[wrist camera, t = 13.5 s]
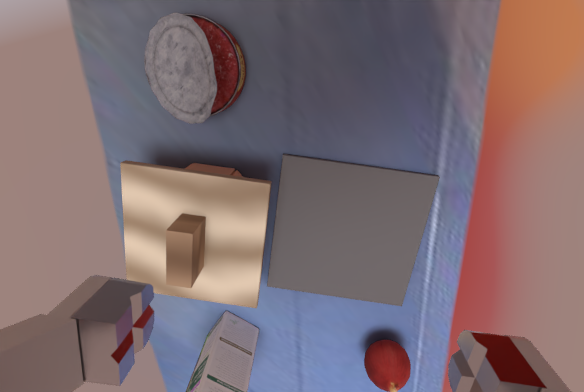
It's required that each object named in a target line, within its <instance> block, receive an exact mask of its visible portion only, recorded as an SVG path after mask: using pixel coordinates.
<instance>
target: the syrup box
mask: <svg viewBox="0 0 584 392" xmlns="http://www.w3.org/2000/svg"><path fill="white" fill-rule="evenodd" d="M258 334H259V329H258V328H257V327H255V326H254V325H252V324H250V323H248V322H247V321H245V320H243V319H241V318H239V317H238V316H236V315H234V314H232V313H230V312H228V311H225V313H224V314H223V315H222V316H221V318H220V319H219V320H218V321H217V323H216V324H215V326H214V327H213V328H212V330H211V331H210V333H209V334H208V335H207V338H206V340H205V343H204V345H203V348H202V351H201V353H200V356H199V358H198V361H197V364H196V366H195V369H194V371H193V374H192V377H191V379H190V382H189V384H188V387H187V390H186V392H247V390H248V385H249V380H250V375H251V370H252V364H253V360H254V354H255V349H256V344H257V339H258Z"/></svg>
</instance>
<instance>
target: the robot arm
mask: <svg viewBox="0 0 584 392" xmlns="http://www.w3.org/2000/svg"><path fill="white" fill-rule="evenodd" d="M153 298H154V291H153V286H152V285H151V284H148V283H142V282H136V281H130V280H124V279H119V278H111V277H105V276H99V275H94V276H90V277H89V278H88V279H87V280H85V281H84V282H83V283H82V284H81V285H80V286H79V287H78V288H77V289H75V290H74V291H73V292H72V293H71V294H70V295H69V296H68V297H66V298H65V299H64V300H63V301H62V302H61V303H60V304H59V305H58V306H57V307H55V308H54V309H53V310H52V311H51V312H50V313H49V314H48V315H44V314H40V315H37V316H34V317H32V318H29V319H27V320H24V321H22V322H19V323H16V324H14V325H11V326H8V327H6V328H3V329H1V330H0V392H73V391H74V390H75V389H77V388H78V387H80V386H81V385H83V383H84V382H91V383H100V384H108V385H116V386H120V385H121V384H122V382H123V380H124V379H125V377H126V376H127V374H128V372H129V371H130V369H131V368H132V366H133V364H134V354H135V353H137V352H139V351H140V350H142V349H143V348H144V347H145V345H146V343H147V342H148V340H149V338H150V335H151V332H152V329H153V324H154V310H153V309H152V308H151V306H150V305H149V304H150V302H151V301H152V300H153ZM457 343H458V345H459V347H460V350H459V351H458V352H456V353H455V354H453V355H452V357H451V360H450V363H449V373H448V376H449V382H450V386H451V388H452V391H453V392H571V391H570V389H569V388H568V387H567V386H566V384H565V383H564V382H563V381H562V380H561V378H560V377H559V376H558V375H557V373H556V372H555V371H554V370H553V368H552V367H551V366H550V365H549V364H548V362H547V361H546V360H545V359H544V358H543V356H542V355H541V354H540V352H539V351H538V350H537V349H536V347H535V346H534V345H533V344H532V343H531V341H529V340H528V339H526V338H524V337H517V336H508V335H497V334H490V333H482V332H474V331H468V330H464V331H463V332H462V333H461V334H460V336H459V338H458V341H457Z"/></svg>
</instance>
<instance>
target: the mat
mask: <svg viewBox="0 0 584 392" xmlns="http://www.w3.org/2000/svg"><path fill="white" fill-rule="evenodd" d="M439 178H440V177H439V176H438V175H431V174H424V173H417V172H410V171H402V170H395V169H388V168H381V167H374V166H367V165H360V164H352V163H345V162H338V161H331V160H324V159H317V158H310V157H302V156H295V155H288V154H283V159H282V167H281V175H280V184H279V192H278V200H277V209H276V217H275V225H274V234H273V242H272V250H271V258H270V267H269V275H268V283H267V286H268V287H275V288H282V289H288V290H295V291H302V292H309V293H316V294H322V295H329V296H336V297H343V298H350V299H356V300H363V301H370V302H377V303H384V304H390V305H397V306H402V304H403V300H404V297H405V294H406V290H407V287H408V283H409V280H410V277H411V273H412V270H413V266H414V263H415V260H416V256H417V253H418V249H419V246H420V243H421V239H422V236H423V232H424V229H425V226H426V222H427V219H428V215H429V212H430V209H431V205H432V202H433V198H434V195H435V192H436V188H437V185H438V181H439Z"/></svg>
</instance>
